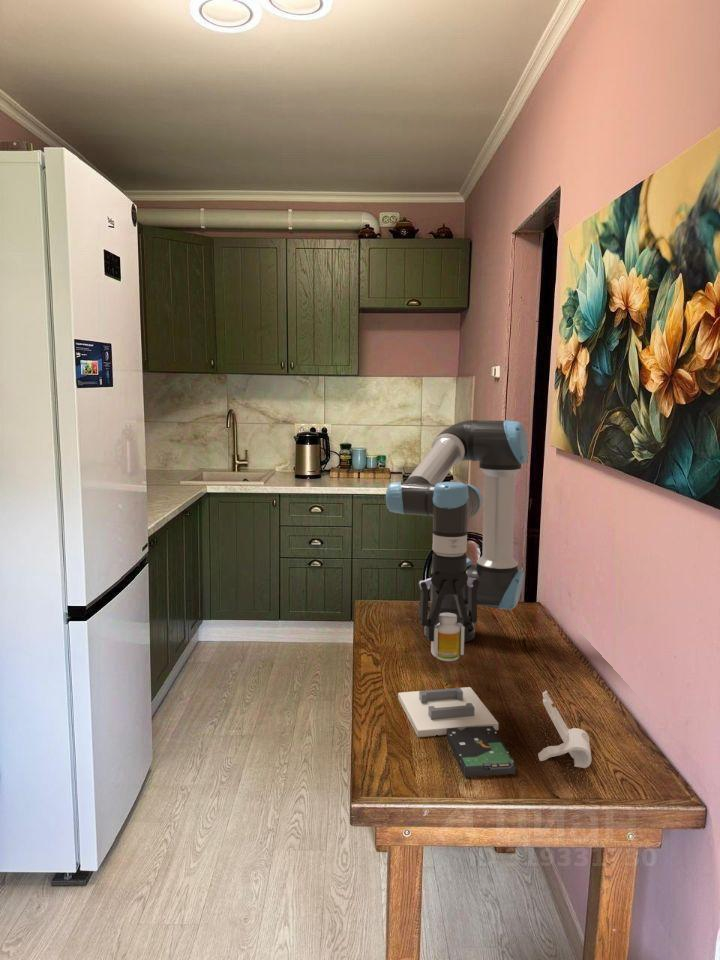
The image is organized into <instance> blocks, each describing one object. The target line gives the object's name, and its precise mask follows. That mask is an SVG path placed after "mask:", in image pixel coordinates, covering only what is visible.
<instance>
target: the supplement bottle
mask: <svg viewBox="0 0 720 960" xmlns="http://www.w3.org/2000/svg"><path fill="white" fill-rule="evenodd" d="M439 622H440V623H438V624H437V625H436V627H437V628H438V657H436V659H438V660H440V661H445V662H453V661H456V660H458V659H459V658H460V654H459V649H460V627H459V625H458V624H456V623H457V615H456V614H453V613H441V614H440V615H439Z"/></svg>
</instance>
